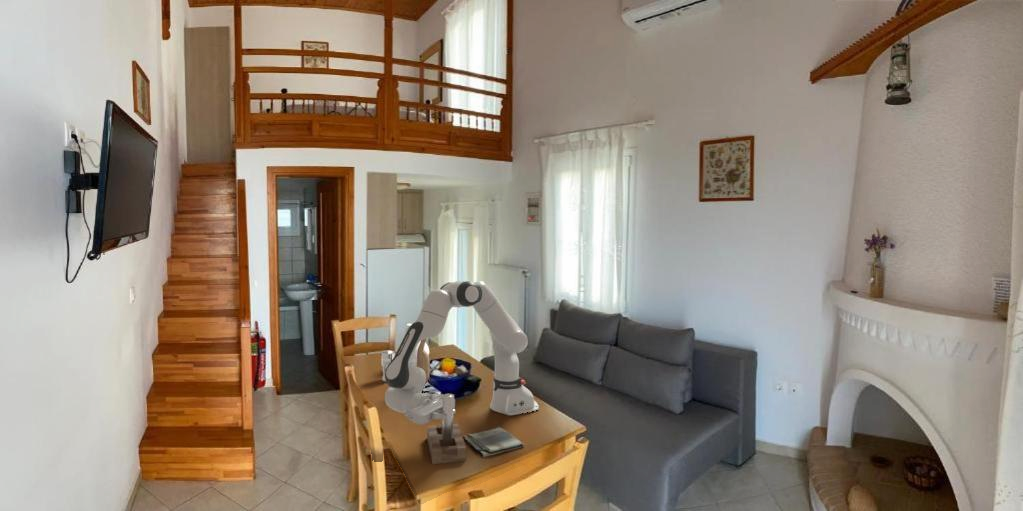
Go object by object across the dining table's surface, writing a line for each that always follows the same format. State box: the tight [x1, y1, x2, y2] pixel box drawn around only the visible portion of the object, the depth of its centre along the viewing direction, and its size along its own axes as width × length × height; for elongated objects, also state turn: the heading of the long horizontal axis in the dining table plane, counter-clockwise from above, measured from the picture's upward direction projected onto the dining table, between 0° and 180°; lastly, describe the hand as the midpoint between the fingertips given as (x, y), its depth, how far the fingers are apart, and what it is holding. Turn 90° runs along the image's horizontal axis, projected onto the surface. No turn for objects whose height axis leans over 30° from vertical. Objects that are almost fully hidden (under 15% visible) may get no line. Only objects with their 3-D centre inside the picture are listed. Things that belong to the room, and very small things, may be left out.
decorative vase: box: [397, 322, 430, 367], centre depth 275 cm, size 18×18×25 cm
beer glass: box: [381, 349, 396, 383], centre depth 254 cm, size 7×7×15 cm
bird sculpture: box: [417, 338, 431, 383], centre depth 243 cm, size 11×12×32 cm
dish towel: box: [462, 426, 525, 458], centre depth 191 cm, size 19×18×3 cm
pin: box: [441, 393, 455, 440], centre depth 178 cm, size 4×4×16 cm
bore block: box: [426, 423, 467, 465], centre depth 184 cm, size 20×12×5 cm, turn 15°
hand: (450, 414), depth 178 cm, fingers closed on pin, 4 cm apart
